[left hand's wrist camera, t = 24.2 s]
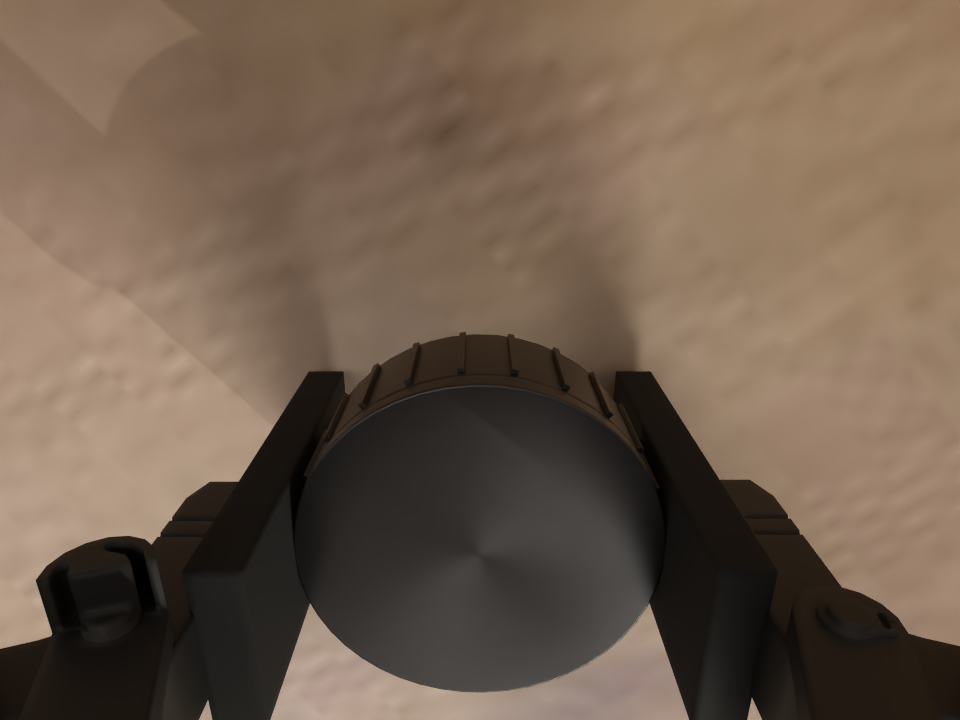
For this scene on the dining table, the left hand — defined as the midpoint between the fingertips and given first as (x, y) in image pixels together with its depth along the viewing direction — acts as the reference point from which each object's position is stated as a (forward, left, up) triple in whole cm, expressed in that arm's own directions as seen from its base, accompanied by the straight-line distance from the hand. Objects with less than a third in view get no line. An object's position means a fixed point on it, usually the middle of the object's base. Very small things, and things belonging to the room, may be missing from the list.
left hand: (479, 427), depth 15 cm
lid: (0, 0, +4) cm, 4 cm away
